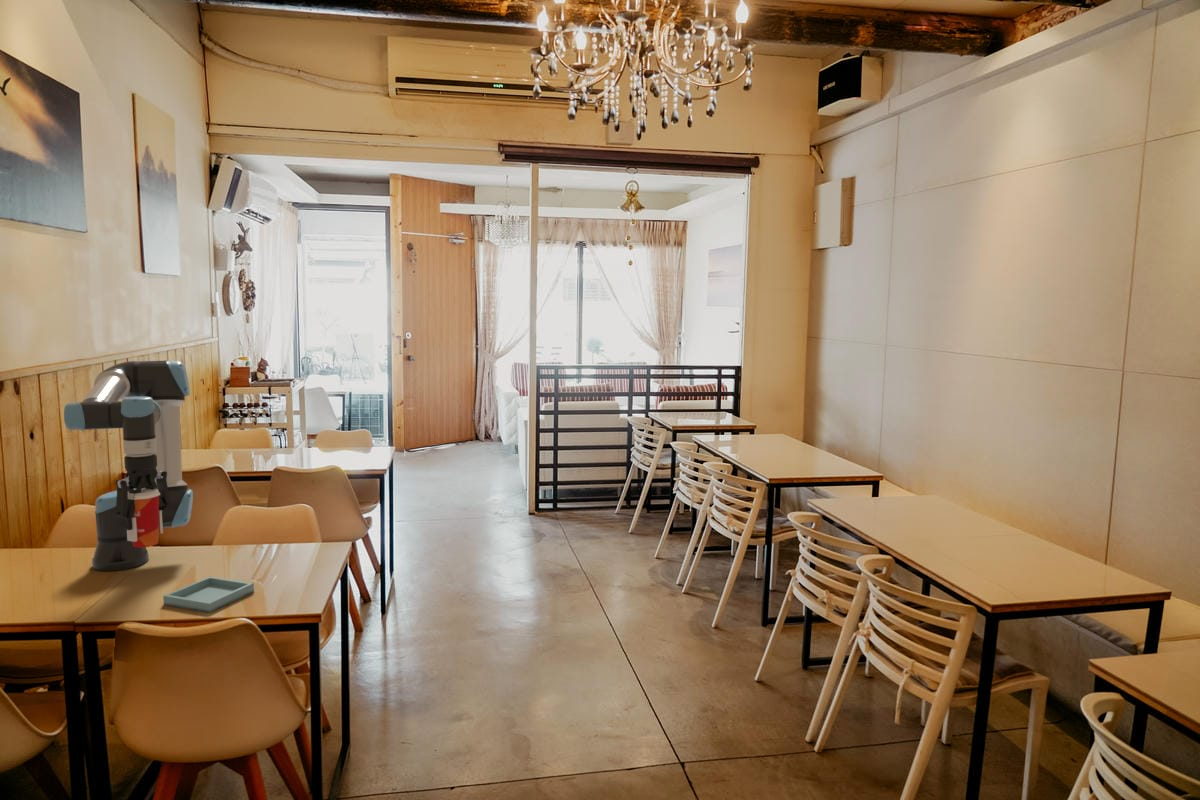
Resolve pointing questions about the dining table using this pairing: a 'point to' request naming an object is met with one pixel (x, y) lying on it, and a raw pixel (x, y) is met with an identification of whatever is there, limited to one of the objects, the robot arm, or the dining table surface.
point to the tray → (208, 594)
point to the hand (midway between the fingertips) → (145, 536)
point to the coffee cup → (146, 517)
